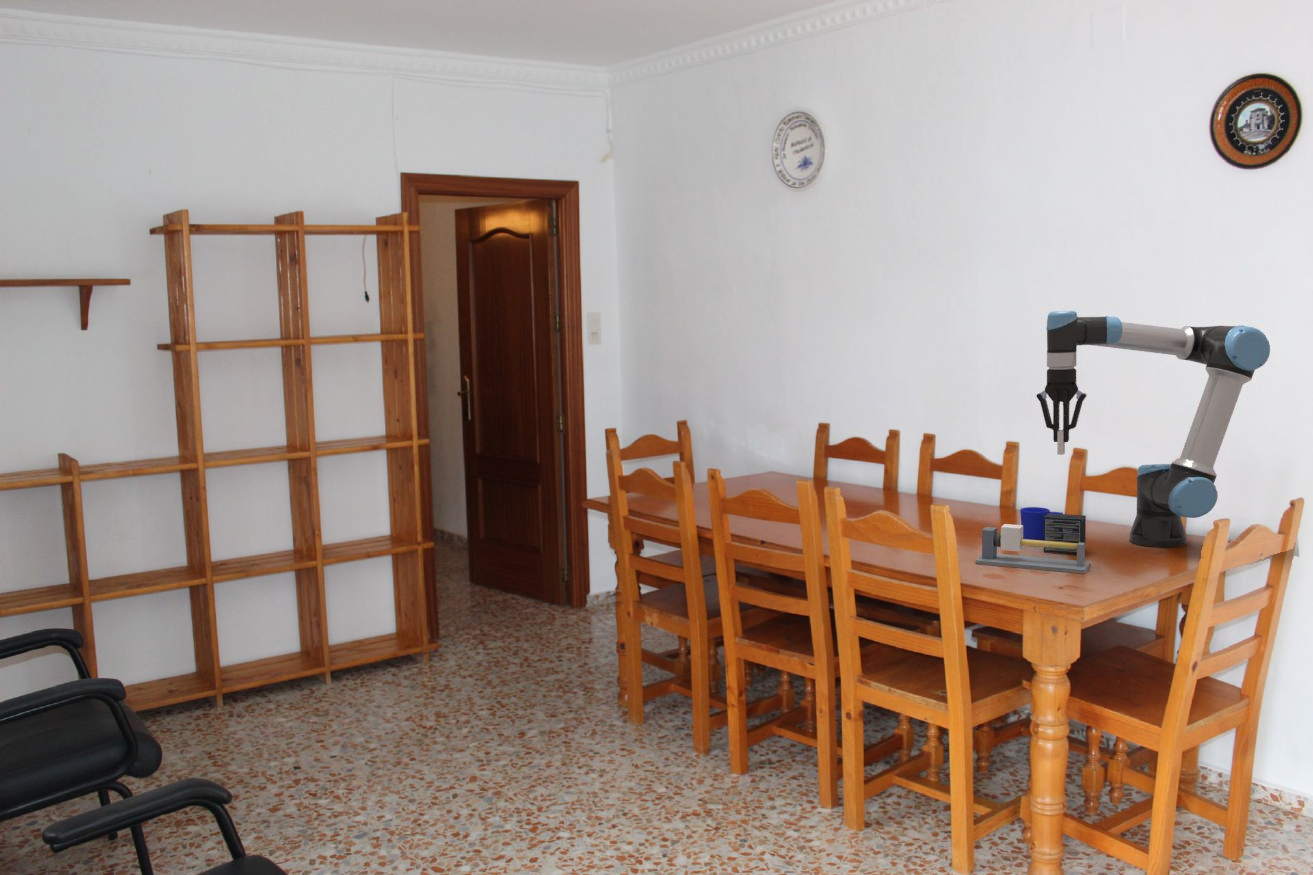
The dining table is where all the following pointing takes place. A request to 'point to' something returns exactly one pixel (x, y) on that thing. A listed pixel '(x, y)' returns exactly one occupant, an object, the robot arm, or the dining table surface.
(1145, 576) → the dining table surface
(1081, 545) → the cord stand
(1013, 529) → the sleeve
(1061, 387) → the robot arm
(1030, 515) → the mug
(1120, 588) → the dining table surface
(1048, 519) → the small box
